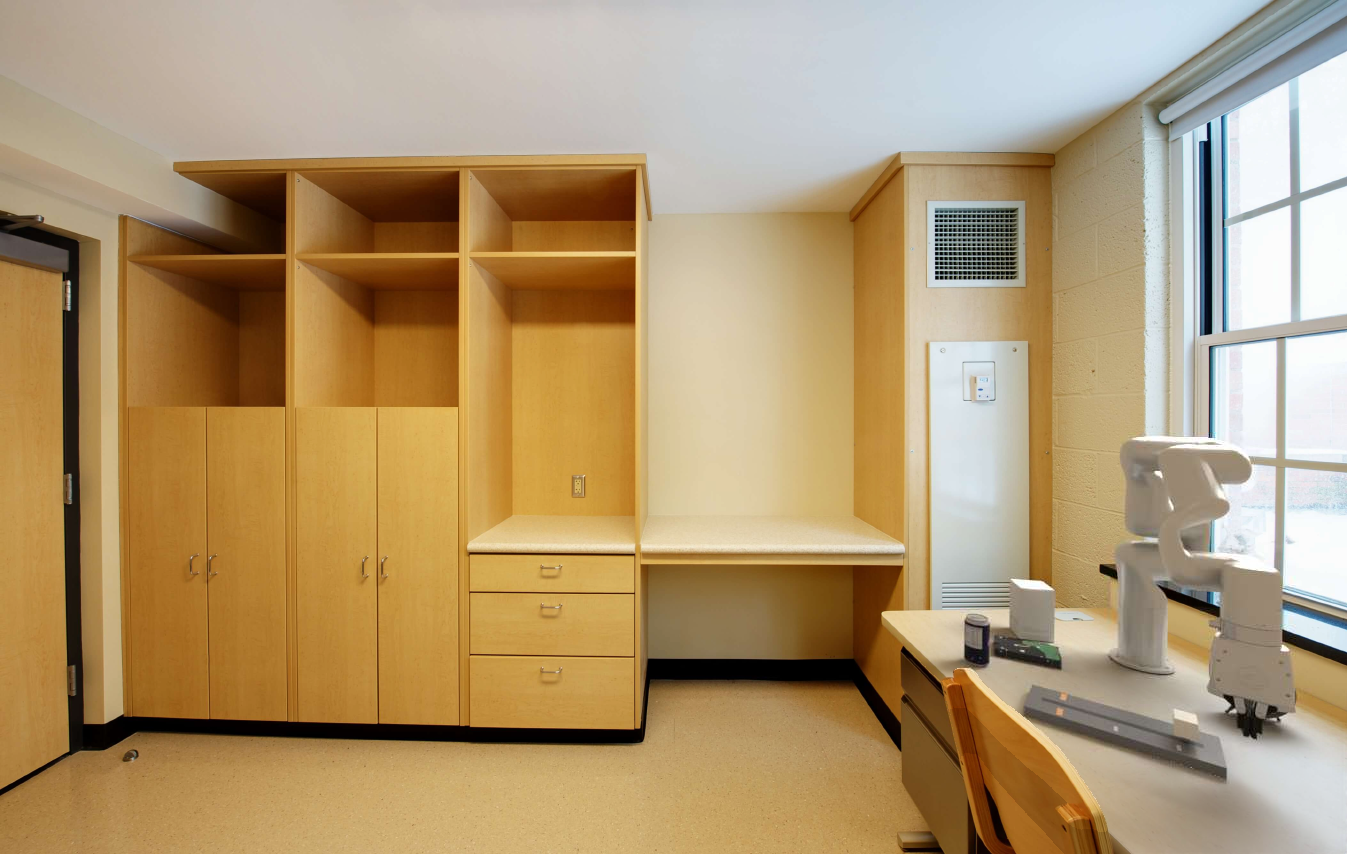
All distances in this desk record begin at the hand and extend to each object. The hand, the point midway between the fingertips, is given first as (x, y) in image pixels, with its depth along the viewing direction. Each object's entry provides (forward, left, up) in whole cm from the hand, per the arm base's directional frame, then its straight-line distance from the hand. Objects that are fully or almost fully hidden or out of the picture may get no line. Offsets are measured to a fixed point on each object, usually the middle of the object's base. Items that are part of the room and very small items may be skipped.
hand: (1249, 734), depth 94 cm
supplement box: (-44, -38, -7) cm, 59 cm away
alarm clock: (-24, +4, -7) cm, 26 cm away
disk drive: (-28, -37, -8) cm, 47 cm away
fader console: (0, -18, -7) cm, 19 cm away
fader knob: (0, -8, -4) cm, 9 cm away
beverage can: (-14, -46, -7) cm, 49 cm away
